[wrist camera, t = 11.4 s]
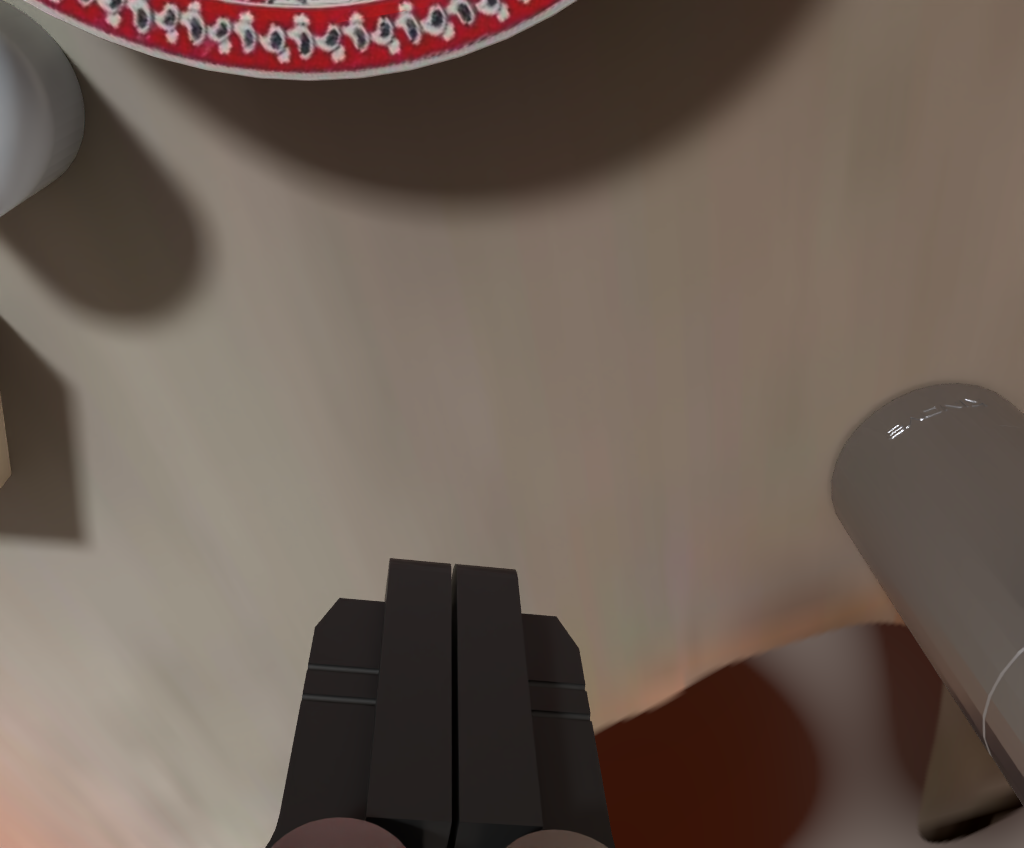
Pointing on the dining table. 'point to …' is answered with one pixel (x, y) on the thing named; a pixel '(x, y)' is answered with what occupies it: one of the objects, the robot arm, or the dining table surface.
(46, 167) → the white rounded cylinder
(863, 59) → the dining table surface
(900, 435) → the robot arm
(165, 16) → the ceramic bowl
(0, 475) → the block
